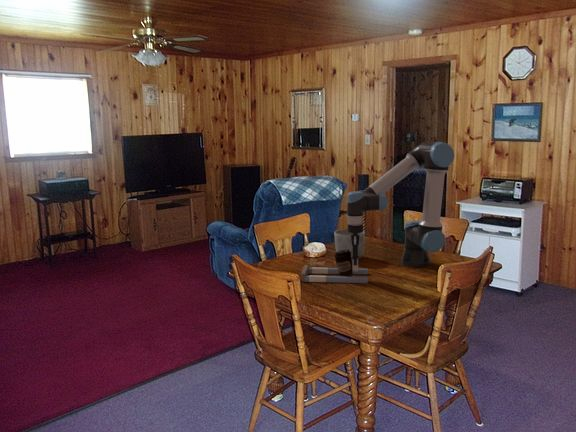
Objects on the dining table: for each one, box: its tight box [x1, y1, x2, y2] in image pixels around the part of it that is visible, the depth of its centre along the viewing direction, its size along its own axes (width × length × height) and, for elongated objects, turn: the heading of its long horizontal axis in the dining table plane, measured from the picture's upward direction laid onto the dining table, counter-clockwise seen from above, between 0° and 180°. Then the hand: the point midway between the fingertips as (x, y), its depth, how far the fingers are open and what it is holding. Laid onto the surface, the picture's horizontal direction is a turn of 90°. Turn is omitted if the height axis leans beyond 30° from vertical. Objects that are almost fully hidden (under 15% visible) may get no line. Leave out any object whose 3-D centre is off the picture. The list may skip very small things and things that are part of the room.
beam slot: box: [300, 264, 369, 284], centre depth 259 cm, size 32×15×4 cm, turn 81°
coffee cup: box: [334, 249, 354, 277], centre depth 258 cm, size 9×8×13 cm
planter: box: [333, 228, 366, 261], centre depth 291 cm, size 17×17×15 cm
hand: (355, 271), depth 257 cm, fingers closed
